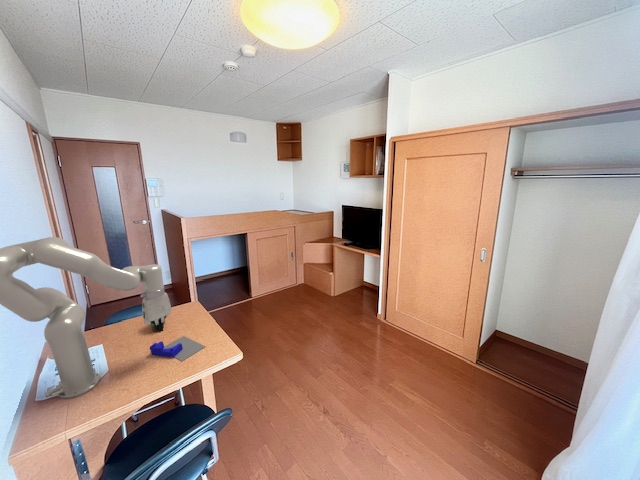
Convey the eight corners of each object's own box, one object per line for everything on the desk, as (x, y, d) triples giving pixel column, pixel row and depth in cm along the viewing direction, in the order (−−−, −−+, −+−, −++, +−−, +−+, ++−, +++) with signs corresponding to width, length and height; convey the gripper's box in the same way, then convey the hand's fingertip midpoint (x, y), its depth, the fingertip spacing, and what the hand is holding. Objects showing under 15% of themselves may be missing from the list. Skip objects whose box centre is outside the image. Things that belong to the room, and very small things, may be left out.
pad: (181, 361, 116) (181, 360, 116) (160, 349, 125) (160, 348, 125) (205, 346, 126) (205, 346, 126) (184, 336, 135) (183, 335, 135)
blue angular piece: (149, 347, 120) (159, 338, 125) (151, 355, 121) (161, 346, 127) (171, 349, 117) (180, 340, 123) (173, 357, 119) (182, 348, 124)
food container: (153, 323, 148) (150, 307, 146) (165, 321, 150) (163, 306, 148) (146, 335, 137) (143, 318, 135) (159, 333, 139) (156, 316, 136)
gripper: (139, 301, 104) (145, 342, 107) (176, 288, 116) (180, 325, 120) (130, 297, 107) (137, 336, 111) (167, 285, 120) (171, 321, 124)
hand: (159, 330), depth 116 cm, fingers closed
